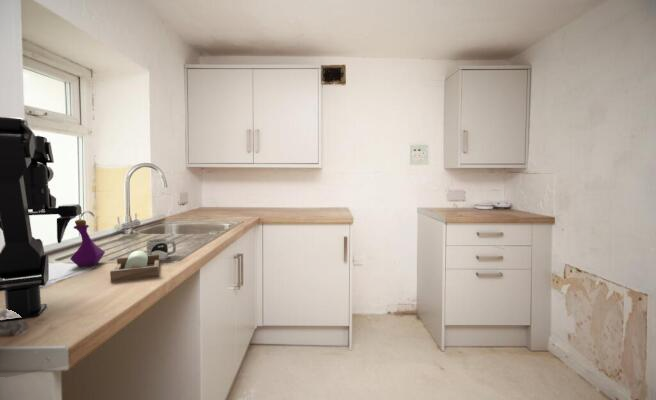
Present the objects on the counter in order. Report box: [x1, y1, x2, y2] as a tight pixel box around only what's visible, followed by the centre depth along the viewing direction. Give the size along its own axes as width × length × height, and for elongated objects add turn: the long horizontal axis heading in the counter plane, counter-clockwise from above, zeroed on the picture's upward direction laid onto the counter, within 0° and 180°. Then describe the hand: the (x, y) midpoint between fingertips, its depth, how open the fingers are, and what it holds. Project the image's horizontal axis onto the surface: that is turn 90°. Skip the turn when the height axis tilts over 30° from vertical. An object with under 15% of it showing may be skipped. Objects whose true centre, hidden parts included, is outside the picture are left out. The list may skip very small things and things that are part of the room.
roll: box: [124, 250, 148, 269], centre depth 105 cm, size 10×6×6 cm, turn 26°
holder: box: [109, 254, 160, 283], centre depth 105 cm, size 16×12×3 cm
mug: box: [146, 238, 177, 262], centre depth 121 cm, size 10×7×7 cm
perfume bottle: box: [69, 210, 106, 267], centre depth 111 cm, size 8×8×18 cm
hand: (37, 244), depth 89 cm, fingers open, 9 cm apart
